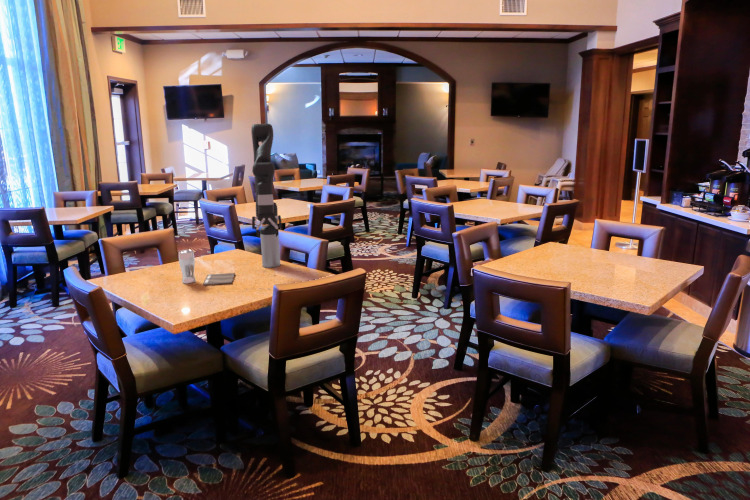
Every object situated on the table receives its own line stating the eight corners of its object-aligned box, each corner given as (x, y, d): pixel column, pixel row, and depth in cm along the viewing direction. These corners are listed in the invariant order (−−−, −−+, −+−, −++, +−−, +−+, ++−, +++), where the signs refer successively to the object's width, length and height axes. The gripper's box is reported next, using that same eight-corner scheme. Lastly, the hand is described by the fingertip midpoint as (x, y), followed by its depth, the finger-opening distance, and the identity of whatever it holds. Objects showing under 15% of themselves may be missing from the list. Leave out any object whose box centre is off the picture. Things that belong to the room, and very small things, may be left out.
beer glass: (178, 283, 255) (174, 252, 252) (188, 279, 261) (185, 249, 258) (189, 284, 252) (186, 253, 249) (199, 280, 259) (196, 250, 255)
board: (207, 276, 266) (207, 274, 266) (234, 274, 268) (234, 272, 268) (202, 285, 250) (202, 283, 250) (231, 284, 252) (231, 282, 252)
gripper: (280, 203, 269) (282, 235, 271) (251, 204, 266) (253, 237, 268) (280, 203, 261) (282, 237, 264) (250, 204, 259) (252, 238, 261)
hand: (267, 237), depth 266 cm, fingers open, 8 cm apart
